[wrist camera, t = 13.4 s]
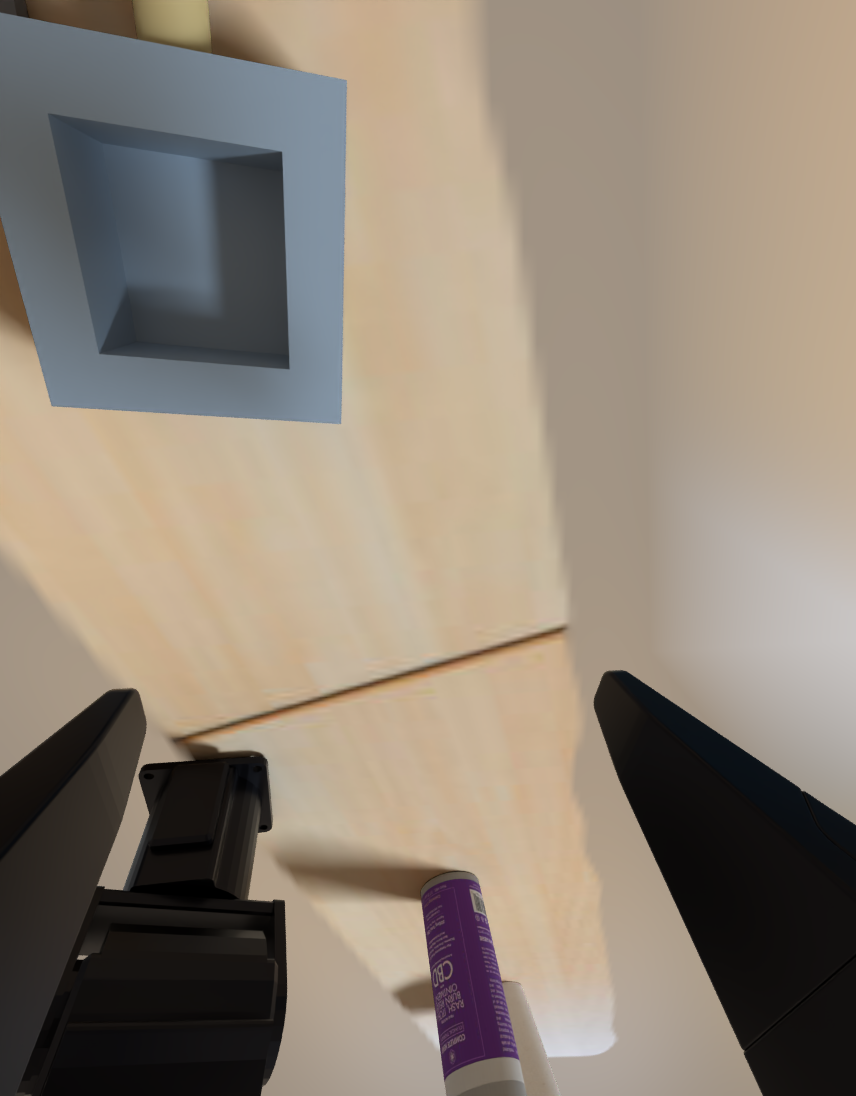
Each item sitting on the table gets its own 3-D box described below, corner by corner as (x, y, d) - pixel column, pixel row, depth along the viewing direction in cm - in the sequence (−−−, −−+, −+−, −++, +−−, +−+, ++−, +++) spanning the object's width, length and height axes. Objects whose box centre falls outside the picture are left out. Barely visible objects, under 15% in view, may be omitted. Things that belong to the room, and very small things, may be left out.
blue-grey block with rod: (341, 398, 18) (341, 423, 15) (106, 381, 16) (51, 406, 13) (353, -358, 10) (358, -631, 7) (-86, -520, 9) (-318, -953, 6)
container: (427, 872, 36) (476, 1207, 23) (485, 869, 37) (563, 1187, 24) (414, 905, 38) (452, 1228, 25) (469, 901, 39) (533, 1209, 26)
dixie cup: (450, 992, 48) (474, 1148, 39) (530, 967, 48) (571, 1118, 39) (465, 1018, 52) (489, 1165, 43) (538, 996, 52) (577, 1138, 44)
